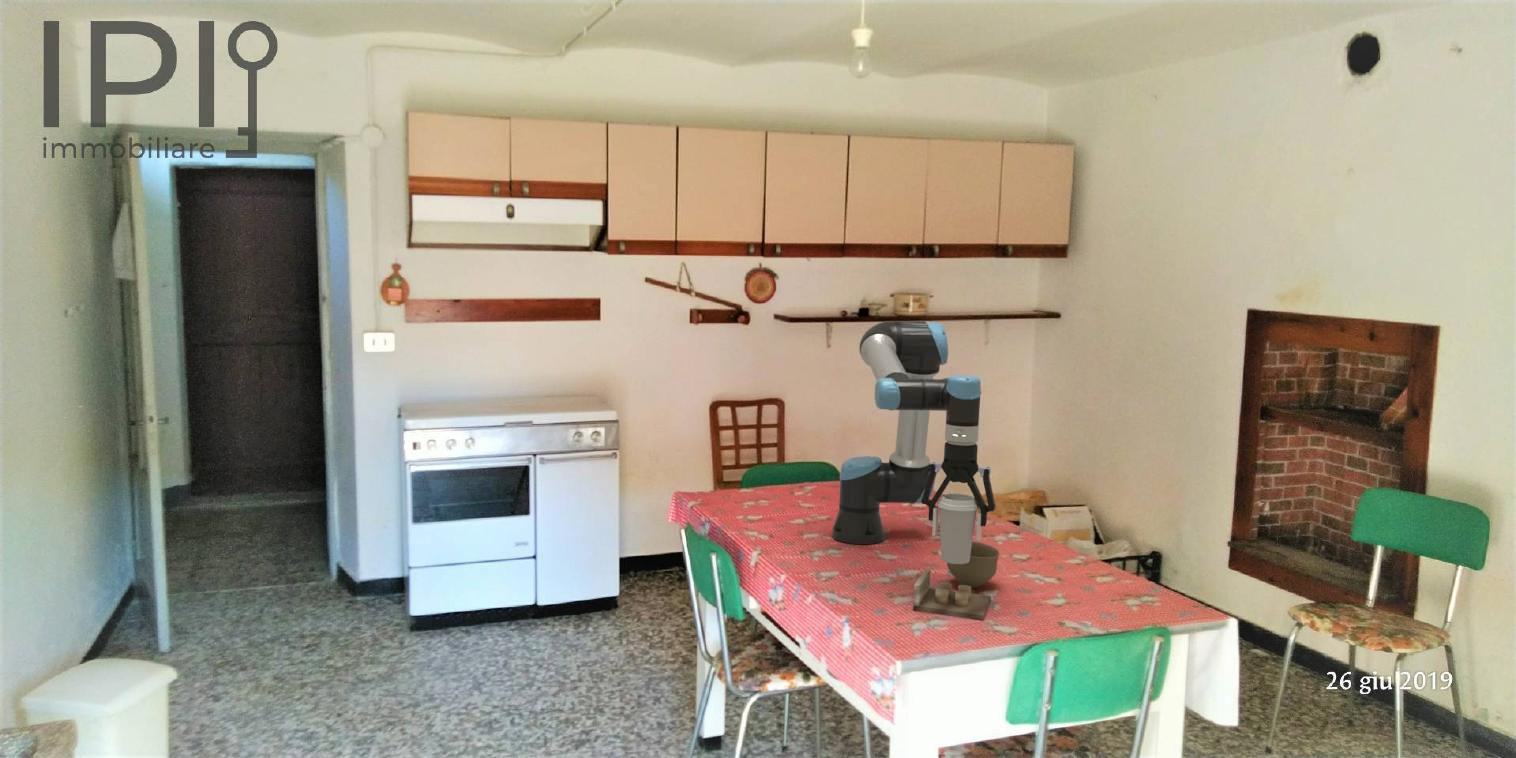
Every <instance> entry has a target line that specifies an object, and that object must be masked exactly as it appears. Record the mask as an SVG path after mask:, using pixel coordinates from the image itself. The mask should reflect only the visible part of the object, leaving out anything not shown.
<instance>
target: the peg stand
mask: <svg viewBox="0 0 1516 758" xmlns="http://www.w3.org/2000/svg"><path fill="white" fill-rule="evenodd" d="M931 571H932V569H931V568H927V567H925V569H924V570H923V572H922V573H921V575H920V576H919V578H918V579H917V581H916V582H915V584H914V585H913V586H914V587H913V588H914V589H913V606H912V611H915V612H921V613H922V612H923V613H929V614H930V613H931V614H936V615H937V614H938V615H944V616H948V617H949V616H951V617H957V618H963V619H964V618H965V619H972V620H976V621H977V620H978V621H984V619H985V617H986V615H987V612H988V610H989V607H990V604H991V602H992V596H991V595H984V594H983V595H982V594H976V593H972V588H971V586H968V585H961V584H959V585H958V589H957V590H956V591H954V590H952V587H953V584H952V583H951V582H945V581H942V582H939V583H938V588H934V587H933V588H932V587H930V586H931Z"/></svg>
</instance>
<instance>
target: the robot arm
mask: <svg viewBox="0 0 1516 758" xmlns="http://www.w3.org/2000/svg"><path fill="white" fill-rule="evenodd" d="M948 344H949V343H948V337H947V334H946V330H945V328H944V326H943V325H942V324H941V323H939V322H933V321H927V320H925V321H923V320H922V321H913V320H911V321H910V320H909V321H905V320H904V321H903V320H902V321H898V320H895V321H894V320H887V321H886V320H885V321H883V322H882V321H881V322H879V323H877V324H875V325H873V326H871V327H870V328H868V330H866V331H865V333H864V334H863V335H862V337H861V339H860V342H859V346H858V347H859V349H858V351H859V354H860V356H861V360H862V361H863V362H864V363H865V364H866V365H868V367H870V369H871V371H872V373H873V376H874V378H875V380H876V382H875V384H874V401H875V402H874V403H875V406H876V407H877V409H879V410H888V411H898V418H897V426H896V427H897V429H896V440H895V450H894V451H893V452H892V453H891V454H890V455H889V457H888V459H889V460H888V462H883V461H882V458H880V457H878V456H869V455H865V456H857V457H851V458H848V459H846V460H844V461H843V463H842V464H841V466H840V473H839V480H840V481H839V483H840V484H839V501H838V502H839V504H838V505H839V506H838V507H839V509H838V512H837V515H836V517H835V521H834V524H833V526H832V530H831V532H832V533H831V537H832V538H833V539H834V540H836V541H838V542H842V543H846V544H851V545H874V544H879V543H882V542H883V541H884V540H885V528H884V525H883V522H882V517H881V513H880V504H881V503H882V504H883V503H884V504H885V503H886V504H911V505H912V504H913V505H915V504H922V505H926V506H927V507H928V521H932V532H931V536H934V537H935V536H937V534H938V529H939V527H938V526H939V507H938V506H937V504H938V502H939V500H940V499H941V496H942V495H943V493H944V491H945V490H946V488H947V487H948V485H949V483H950V482H951V483H961V484H967V486H968V488H969V489H970V491H971V493H972V495H973V497H974V498H975V500H976V502H977V504H978V506H979V510H978V512H977V514H976V516H977V518H976V519H977V520H976V536H975V537H976V538H975V540H976V541H975V542H980V541H981V539H982V527H986V525H987V520H988V513H990V512H994V511H995V510H996V508H997V507H996V501H995V498H994V493H993V488H992V483H991V479H990V476H991V468H990V467H989V466H987V467H983V466H982V467H981V466H979V465H978V450H979V449H978V444H977V442H978V441H979V428H980V426H979V424H980V409H981V408H980V407H981V396H982V395H981V394H982V390H981V388H982V387H981V379H980V378H979V377H978V376H976V375H974V376H973V375H968V374H952V375H951V376H949V377H944V378H935V376H936V375H937V374H939V373H940V367H941V366H943V365H946V364H947V363H948V360H949V347H948V346H949V345H948ZM930 411H939V412H940V411H941V412H943V411H945V415H946V416H945V431H944V432H945V433H944V439H945V443H944V449H943V450H944V453H943V461H942V463H940V462H939V463H936V462H932V463H931V459H930V457H929V456H928V455H927V454H926V451H927V442H928V431H929V423H930V421H929V420H930ZM941 469H942V471H943V472H944V474H945V477H944V479H943V481H942V483H941V484H940V486H939V487H938V489H937V491H936V492H935V494H934V495H933V497H932V498H931V496H932V494H933V492H934V488H935V483H936V482H935V480H936V477H937V474H938V473H940V470H941ZM977 473H979V476H980V477H981V478H982V481H983V486H984V487H983V488H984V493H985V497H986V502H987V504H986V502H985V499H984V498H983V495H982V494H981V491H980V488H979V487H978V485H977V483H976V480H975V478H974V477H975V475H976V474H977ZM930 498H931V499H930Z"/></svg>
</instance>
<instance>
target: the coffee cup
mask: <svg viewBox="0 0 1516 758" xmlns="http://www.w3.org/2000/svg"><path fill="white" fill-rule="evenodd" d="M936 506H938V507H939V509H938V514H939V532H940V533H939V534H940V560H941V561H943V562H944V563H946V564H947V563H951V564H966V563H968V562H969V561H970V553H971V546H972V541H973V539H974V530H975V524H976V519H977V518H976V516H977V513H978V512H977V511H979V510H980V508H979V506H978V504H977V502H976V500H975V498H974V496H972V495H969V494H962V493H945V494H942V495H941V496H940V498H939V499H938V501H937V503H936Z"/></svg>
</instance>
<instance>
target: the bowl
mask: <svg viewBox="0 0 1516 758" xmlns="http://www.w3.org/2000/svg"><path fill="white" fill-rule="evenodd" d="M999 556H1000V551H999V550H998V549H997V548H996V547H994V546H992V545H989V544H987V543H984V542H980V541H973V540H972V546H971V553H970V561H969V562H968V563H966V564H951V563H947V562H946V567H947V570H948V571H949V573H950V574H951V575H952V576H953V577H954V578H955V579H956V580H957V582H958V583H959V585H968V586H971V589H972V588H974V589H975V588H979V587H980V586H981V585H983V584H985V583H987V582H989V581H990V580H991V579H992V578H993V577H994V576H996V573H997V567H998V560H999Z"/></svg>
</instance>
